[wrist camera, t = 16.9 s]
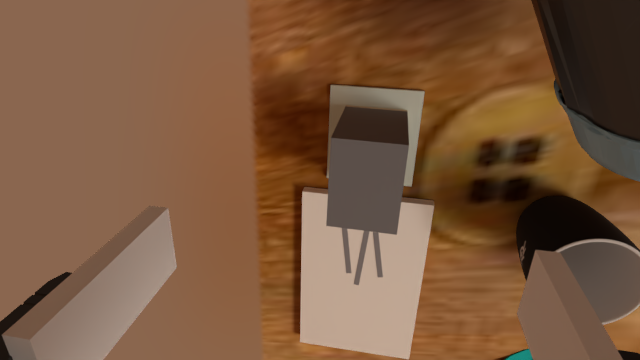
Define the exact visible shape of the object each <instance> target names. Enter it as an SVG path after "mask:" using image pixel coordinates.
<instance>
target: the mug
mask: <svg viewBox="0 0 640 360" xmlns="http://www.w3.org/2000/svg"><path fill="white" fill-rule="evenodd" d="M516 237H517V247H518V252H519V257H520V261H521V265H522V269H523V272H524V275H525V279H526V281H527V278H528V274H529V271H530V267H531V264H532V260H533V257H534V253H535V250H542V251H551V252H560V253H561V255H562V257H563V258H564V260H565V262H566V263H567V265H568V267H569V268H570V270H571V272H572V274H573V275H574V277H575V279H576V280H577V282H578V284H579V286H580V287H581V289H582V291H583V292H584V294H585V296H586V297H587V299H588V301H589V303H590V304H591V306H592V308H593V309H594V311H595V313H596V314H597V316H598V318H599V320H600V321H601V323H602V325H604V324H608V323H611V322H614V321H617V320H619V319H621V318H623V317H625V316H627V315H629V314H630V313H632V312H633V311H634V310H636V309H637V308H638V307H639V306H640V250H639V249H638V248H637V247H636V246H635V244H634V243H633V242H632V241H631V240H630V239H629V238H628V237H627V236H625V235H624V234H623V233H622V232H621V231H620V230H619V229H618V228H617V227H616V226H614V225H613V224H612V223H611V222H610V221H609V220H607V219H606V218H605V217H604V216H602V215H601V214H600V213H598V212H597V211H595V210H594V209H593V208H591V207H590V206H588V205H586V204H584V203H582V202H581V201H578V200H576V199H573V198H569V197H564V196H551V197H546V198H542V199H540V200H537V201H536V202H534V203H532V204H531V205H530V206H528V207H527V208H526V209H525V210H524V212H523V213H522V215H521V216H520V219H519V221H518V224H517V231H516Z"/></svg>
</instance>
